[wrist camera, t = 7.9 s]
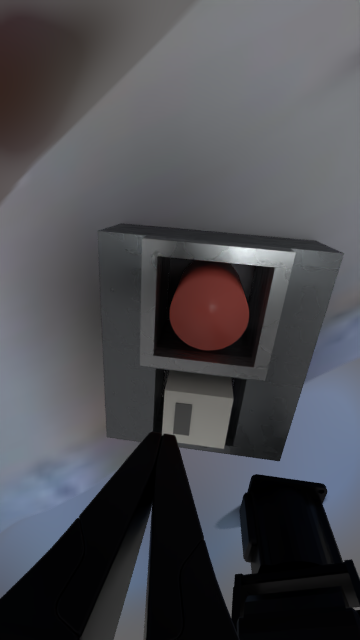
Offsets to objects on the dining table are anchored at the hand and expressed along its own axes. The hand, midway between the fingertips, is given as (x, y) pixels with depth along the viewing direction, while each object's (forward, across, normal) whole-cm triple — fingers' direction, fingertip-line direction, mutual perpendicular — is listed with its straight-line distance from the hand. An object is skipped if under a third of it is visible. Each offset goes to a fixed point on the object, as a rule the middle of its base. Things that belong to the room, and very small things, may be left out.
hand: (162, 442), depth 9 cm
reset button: (+11, -1, -2) cm, 12 cm away
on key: (+11, -1, +5) cm, 13 cm away
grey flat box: (+12, -1, +2) cm, 12 cm away
